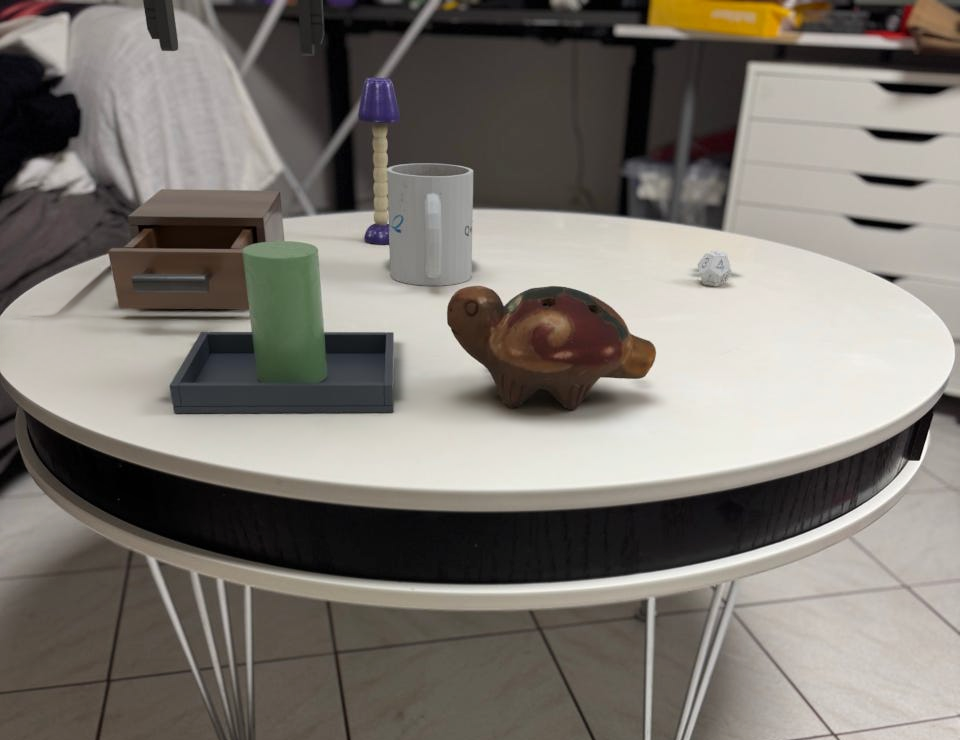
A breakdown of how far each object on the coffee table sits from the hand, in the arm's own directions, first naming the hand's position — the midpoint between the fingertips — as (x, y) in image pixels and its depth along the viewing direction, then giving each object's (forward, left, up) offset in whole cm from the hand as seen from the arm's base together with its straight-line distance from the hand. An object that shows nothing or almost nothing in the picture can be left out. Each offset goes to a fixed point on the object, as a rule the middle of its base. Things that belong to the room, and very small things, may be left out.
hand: (239, 52), depth 57 cm
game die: (+42, +29, -21) cm, 56 cm away
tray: (+1, -1, -21) cm, 21 cm away
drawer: (-10, +20, -20) cm, 30 cm away
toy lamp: (+7, +48, -21) cm, 53 cm away
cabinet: (-10, +33, -21) cm, 40 cm away
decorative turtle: (+20, -4, -21) cm, 30 cm away
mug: (+12, +30, -21) cm, 39 cm away
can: (+1, -1, -20) cm, 20 cm away
